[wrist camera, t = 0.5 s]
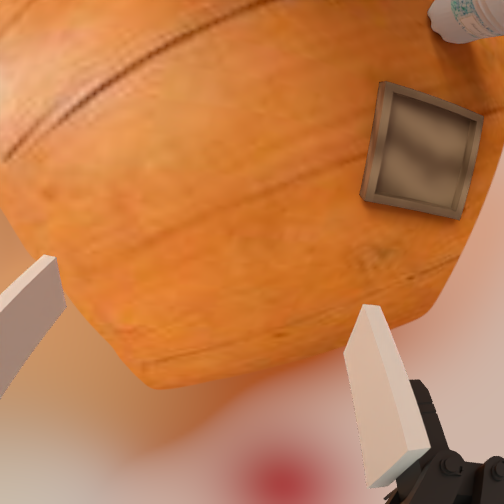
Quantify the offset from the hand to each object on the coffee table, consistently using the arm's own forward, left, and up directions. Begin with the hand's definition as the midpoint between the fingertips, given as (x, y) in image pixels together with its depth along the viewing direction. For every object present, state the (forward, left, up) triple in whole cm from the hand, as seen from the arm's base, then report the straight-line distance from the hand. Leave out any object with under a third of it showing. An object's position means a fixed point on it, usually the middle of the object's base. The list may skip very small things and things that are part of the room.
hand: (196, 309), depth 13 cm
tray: (-6, +21, -27) cm, 34 cm away
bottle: (-24, +22, -27) cm, 42 cm away
